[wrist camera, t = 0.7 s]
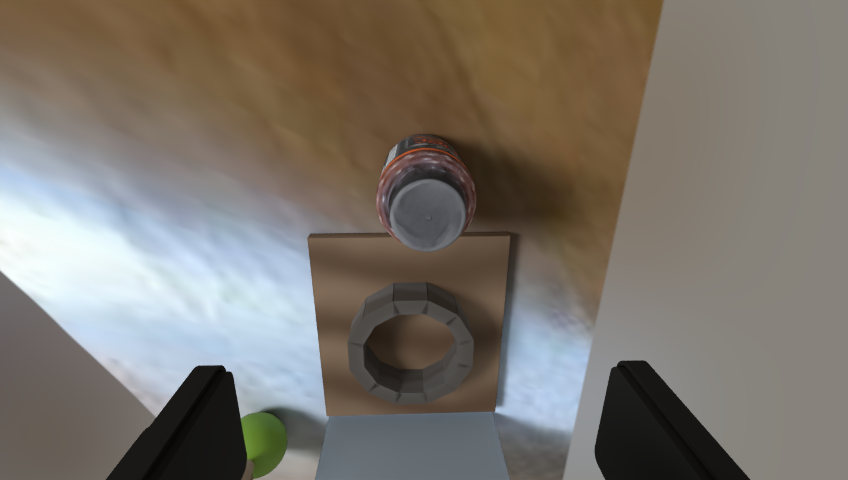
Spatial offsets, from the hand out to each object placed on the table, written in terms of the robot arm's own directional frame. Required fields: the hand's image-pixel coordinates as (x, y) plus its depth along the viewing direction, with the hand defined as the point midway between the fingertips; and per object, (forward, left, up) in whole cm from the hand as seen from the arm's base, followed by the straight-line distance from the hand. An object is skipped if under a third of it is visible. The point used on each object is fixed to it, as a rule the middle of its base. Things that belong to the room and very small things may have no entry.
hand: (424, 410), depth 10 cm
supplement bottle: (-1, +1, -24) cm, 24 cm away
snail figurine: (+23, -14, -24) cm, 36 cm away
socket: (+13, 0, -23) cm, 27 cm away
